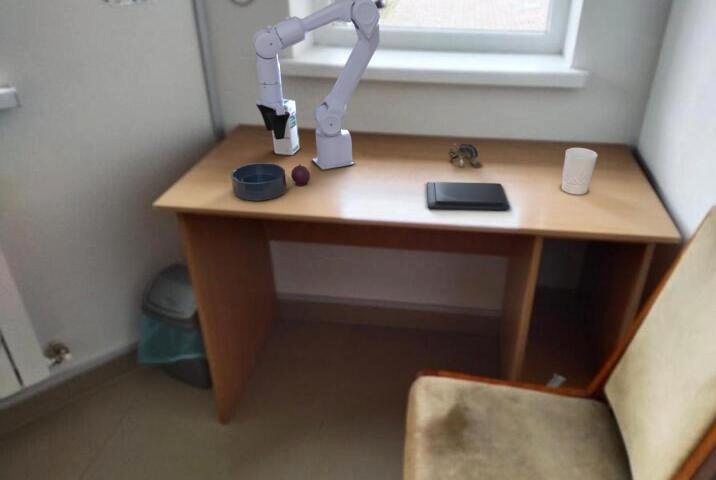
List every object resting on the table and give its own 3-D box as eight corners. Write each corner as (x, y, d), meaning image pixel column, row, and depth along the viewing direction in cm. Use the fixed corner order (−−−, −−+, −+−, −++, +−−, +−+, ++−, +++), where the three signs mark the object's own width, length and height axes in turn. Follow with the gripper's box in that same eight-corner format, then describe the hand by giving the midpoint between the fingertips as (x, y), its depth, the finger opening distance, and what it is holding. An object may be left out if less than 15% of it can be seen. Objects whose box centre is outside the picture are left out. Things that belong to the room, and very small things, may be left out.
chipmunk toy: (446, 165, 156) (477, 163, 153) (446, 139, 156) (478, 137, 153) (452, 170, 163) (482, 169, 161) (452, 146, 163) (483, 144, 161)
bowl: (277, 177, 148) (275, 159, 146) (293, 196, 139) (292, 177, 136) (228, 186, 143) (225, 168, 140) (241, 206, 134) (238, 187, 131)
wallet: (427, 202, 134) (427, 177, 147) (427, 209, 135) (426, 183, 148) (510, 205, 134) (503, 179, 147) (509, 212, 135) (502, 186, 148)
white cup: (572, 197, 143) (580, 160, 137) (552, 186, 149) (559, 150, 143) (595, 192, 146) (604, 156, 141) (575, 181, 152) (582, 145, 146)
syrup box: (292, 155, 162) (288, 105, 154) (273, 153, 163) (268, 103, 155) (300, 148, 167) (295, 99, 159) (281, 147, 167) (276, 98, 159)
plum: (307, 179, 148) (305, 159, 145) (313, 185, 145) (312, 165, 142) (289, 182, 146) (287, 162, 143) (295, 189, 143) (293, 168, 140)
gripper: (246, 76, 145) (252, 128, 153) (262, 90, 135) (268, 145, 142) (272, 74, 148) (278, 124, 156) (290, 87, 138) (295, 141, 145)
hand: (275, 134), depth 149 cm, fingers open, 7 cm apart
